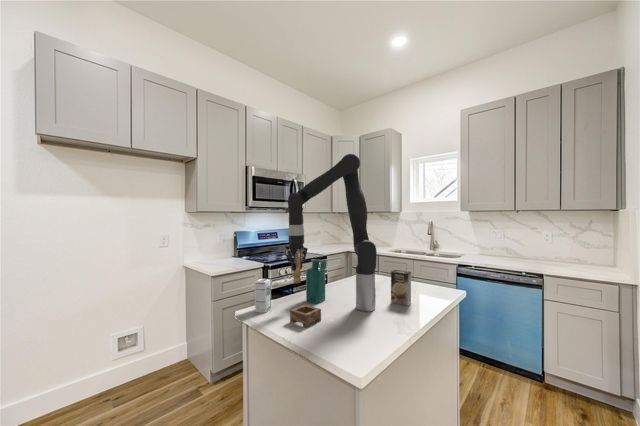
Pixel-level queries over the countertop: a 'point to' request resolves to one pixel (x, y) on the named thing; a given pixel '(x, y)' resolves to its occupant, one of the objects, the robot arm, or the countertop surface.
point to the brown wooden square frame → (305, 315)
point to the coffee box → (401, 287)
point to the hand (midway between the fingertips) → (296, 269)
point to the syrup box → (262, 295)
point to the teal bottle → (316, 281)
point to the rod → (297, 269)
